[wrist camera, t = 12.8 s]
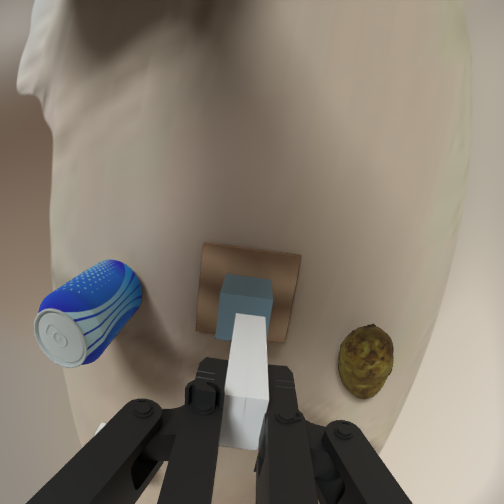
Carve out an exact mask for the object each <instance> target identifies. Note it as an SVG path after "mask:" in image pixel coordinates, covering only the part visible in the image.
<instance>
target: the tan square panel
mask: <svg viewBox="0 0 504 504" xmlns="http://www.w3.org/2000/svg"><path fill="white" fill-rule="evenodd" d="M300 259H301V256H300V255H296V254H288V253H281V252H274V251H266V250H259V249H252V248H244V247H237V246H230V245H222V244H215V243H208V242H204V243H203V251H202V261H201V272H200V283H199V294H198V306H197V319H196V331H200V332H206V333H213V334H216V327H217V318H218V308H219V299H220V292H221V289H222V285H223V282H224V279H225V275H226V274H233V275H240V276H247V277H255V278H262V279H270V280H271V284H272V293H273V305H272V310H271V316H270V322H269V327H268V333H267V339H266V341H274V342H285V337H286V332H287V327H288V323H289V317H290V312H291V307H292V302H293V297H294V292H295V286H296V281H297V276H298V270H299V265H300Z"/></svg>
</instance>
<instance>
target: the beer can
mask: <svg viewBox="0 0 504 504" xmlns="http://www.w3.org/2000/svg"><path fill="white" fill-rule="evenodd" d="M141 301H142V287H141V284H140V281H139V279H138V277H137V275H136V274H135V272H134V271H133V270H132V269H131V268H130V267H129V266H127V265H126V264H124V263H122V262H120V261H117V260H112V259H109V260H103V261H101V262H99V263H97V264H95V265H94V266H92V267H91V268H89V269H87V270H86V271H84V272H83V273H81V274H80V275H78V276H76V277H75V278H73V279H72V280H70V281H69V282H67V283H66V284H64V285H63V286H61V287H60V288H58V289H57V290H55V291H54V292H52V293H51V294H49V295H48V296H47V297H46V298H45V299H44V300H43V301H42V303H41V305H40V308H39V312H38V315H37V316H36V318H35V322H34V333H35V337H36V340H37V342H38V344H39V346H40V348H41V349H42V351H43V352H44V353H45V354H46V356H47V357H48V358H50V359H51V360H52V361H53V362H55V363H56V364H58V365H60V366H63V367H66V368H75V367H78V366H80V365H84V364H89V363H92V362H94V361H95V360H96V359H98V358H99V357H100V355H101V354H102V353H103V352H104V350H105V349H106V348H107V346H108V345H109V344H110V343H111V341H112V340H113V339H114V338H115V336H116V335H117V334H118V333H119V332H120V330H121V329H122V328H123V327H124V325H125V324H126V323H127V322H128V320H129V319H130V318H131V317H132V316H133V314H134V313H135V312H136V311H137V309H138V308H139V306H140V304H141Z"/></svg>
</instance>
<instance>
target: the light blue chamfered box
mask: <svg viewBox="0 0 504 504" xmlns="http://www.w3.org/2000/svg"><path fill="white" fill-rule="evenodd" d="M272 305H273V293H272V284H271V280H270V279H262V278H255V277H247V276H240V275H233V274H226V275H225V279H224V282H223V285H222V289H221V292H220V299H219V308H218V318H217V327H216V337H215V339H220V340H227V341H232V336H233V329H234V323H235V316H236V313H239V314H246V315H254V316H262V317H265V321H266V339H267V333H268V327H269V322H270V316H271V310H272Z"/></svg>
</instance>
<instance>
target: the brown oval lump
mask: <svg viewBox="0 0 504 504" xmlns="http://www.w3.org/2000/svg"><path fill="white" fill-rule="evenodd" d="M340 347H341V349H340V355H339V366H338V368H339V373H340V377H341V379H342V382H343V384H344V385H345V386H346V388H347V389H348V390H349V391H350V392H351V393H352V394H354V395H355V396H356V397H358V398H362V399H366V398H370V397H373V396H374V395H376V394H377V393H378V392H379V391H380V389H381V388H382V387H383V385H384V383H385V381H386V379H387V377H388V375H390V373H391V371H392V367H393V343H392V340H391V338H390V337H389V336H388V334H386V333H385V332H384V331H383V330H382V329H381V328H379V327H376V325H375V324H372V325H367V326H363V327H360V328H358V329H356V330H353V331H352V332H351V333H350V334H349V335H348V336H347V337H346V338H345V340H344V341H343V342H342V344H341V346H340Z"/></svg>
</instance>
